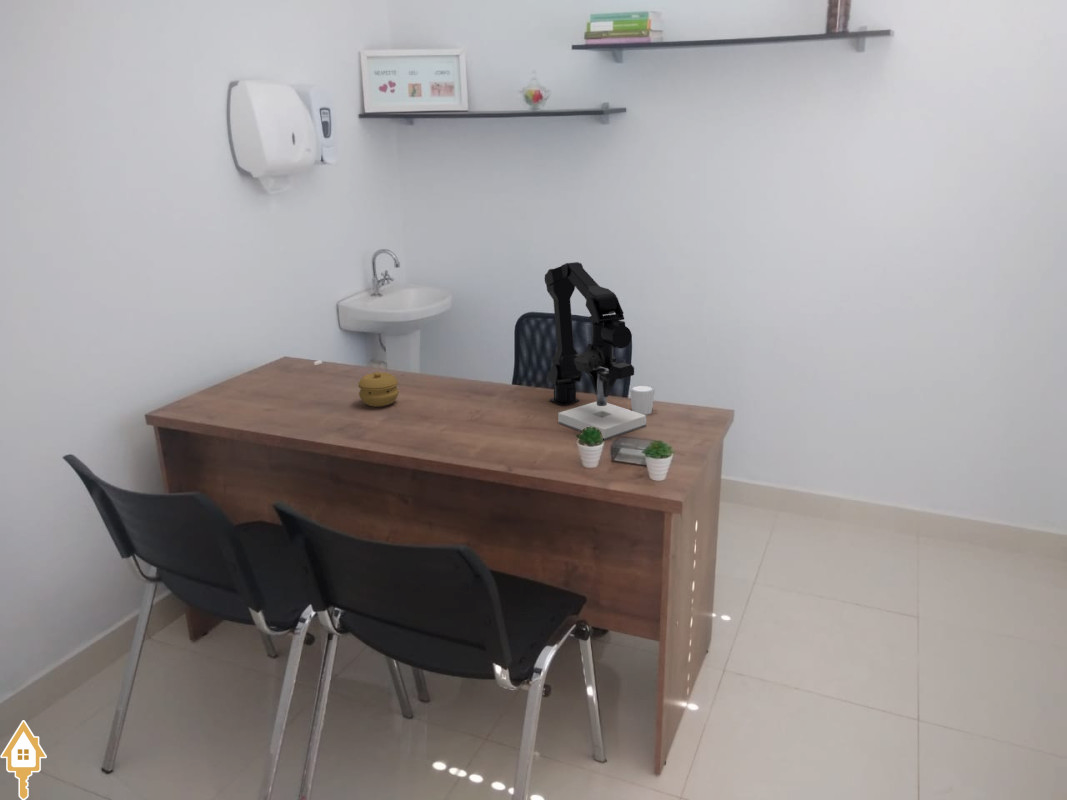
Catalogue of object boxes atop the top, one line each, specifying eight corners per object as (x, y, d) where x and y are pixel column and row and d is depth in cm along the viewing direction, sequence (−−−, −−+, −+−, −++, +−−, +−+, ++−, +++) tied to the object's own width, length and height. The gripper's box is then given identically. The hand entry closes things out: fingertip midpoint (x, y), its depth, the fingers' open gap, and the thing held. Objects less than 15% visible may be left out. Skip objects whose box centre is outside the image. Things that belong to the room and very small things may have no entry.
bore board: (558, 423, 228) (558, 412, 227) (599, 410, 238) (599, 400, 237) (604, 440, 215) (604, 429, 214) (646, 425, 225) (646, 415, 224)
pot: (352, 408, 244) (349, 376, 241) (372, 396, 254) (369, 365, 251) (388, 412, 240) (385, 379, 237) (406, 399, 251) (404, 368, 248)
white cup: (648, 417, 232) (648, 393, 230) (625, 413, 235) (626, 389, 233) (657, 410, 237) (658, 386, 235) (635, 406, 241) (636, 383, 239)
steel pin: (594, 404, 225) (594, 372, 222) (601, 402, 227) (602, 370, 224) (601, 406, 223) (602, 374, 220) (609, 404, 225) (609, 372, 222)
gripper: (556, 338, 221) (556, 394, 226) (605, 351, 207) (605, 410, 212) (586, 331, 228) (586, 385, 233) (636, 344, 214) (634, 401, 219)
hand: (601, 395), depth 224 cm, fingers closed on steel pin, 3 cm apart
